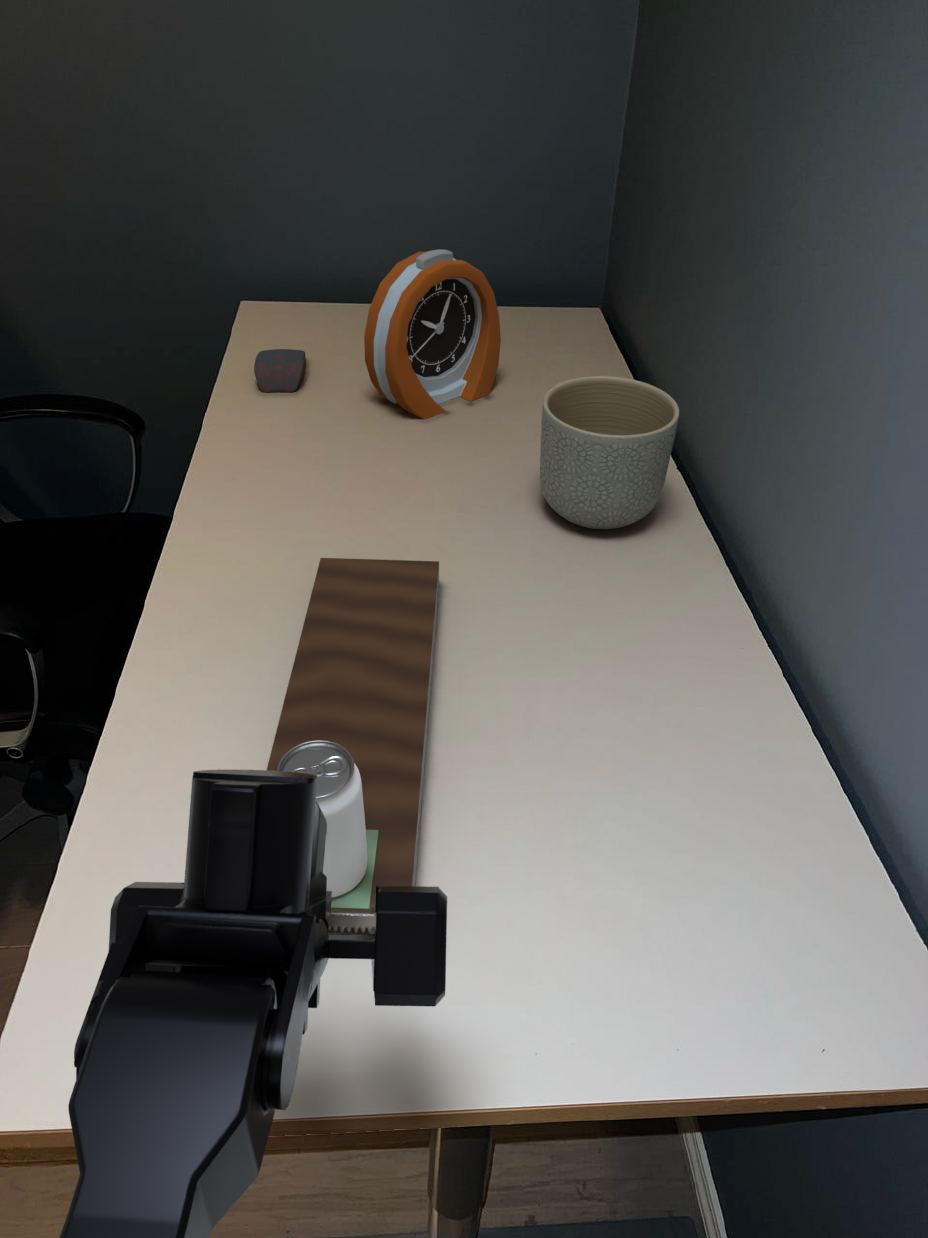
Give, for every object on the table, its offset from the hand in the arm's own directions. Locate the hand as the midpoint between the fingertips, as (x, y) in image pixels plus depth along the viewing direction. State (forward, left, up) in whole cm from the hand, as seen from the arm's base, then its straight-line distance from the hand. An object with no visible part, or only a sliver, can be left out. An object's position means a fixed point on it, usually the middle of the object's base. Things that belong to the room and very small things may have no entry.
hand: (305, 911), depth 61 cm
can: (+10, +4, -10) cm, 15 cm away
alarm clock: (+100, +32, -14) cm, 106 cm away
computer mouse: (+96, +59, -14) cm, 114 cm away
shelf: (+28, +11, -14) cm, 33 cm away
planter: (+77, -1, -14) cm, 78 cm away
